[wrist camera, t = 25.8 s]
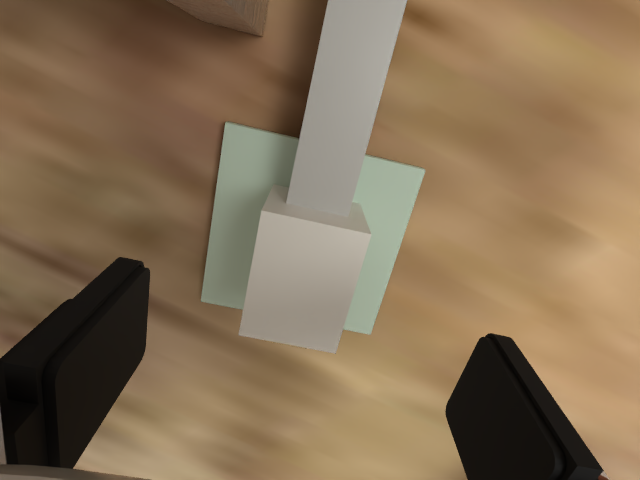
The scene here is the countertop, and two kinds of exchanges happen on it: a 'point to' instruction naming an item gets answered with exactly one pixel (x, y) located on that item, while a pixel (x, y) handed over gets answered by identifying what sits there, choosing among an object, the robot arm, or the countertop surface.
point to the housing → (228, 13)
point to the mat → (276, 168)
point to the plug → (323, 187)
